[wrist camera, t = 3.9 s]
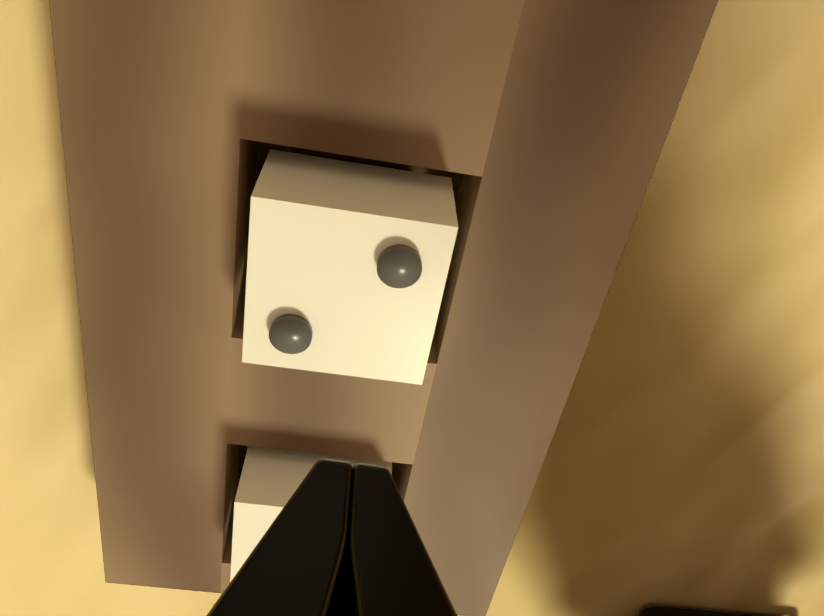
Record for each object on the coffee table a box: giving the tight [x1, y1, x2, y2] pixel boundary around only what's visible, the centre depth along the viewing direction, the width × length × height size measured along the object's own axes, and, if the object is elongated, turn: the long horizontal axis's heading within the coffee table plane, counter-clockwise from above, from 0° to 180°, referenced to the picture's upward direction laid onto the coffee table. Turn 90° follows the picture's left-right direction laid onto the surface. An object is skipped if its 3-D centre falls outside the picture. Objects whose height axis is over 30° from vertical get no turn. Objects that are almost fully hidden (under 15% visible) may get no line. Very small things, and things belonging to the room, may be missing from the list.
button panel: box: [49, 0, 718, 616], centre depth 17 cm, size 12×25×2 cm, turn 170°
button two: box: [242, 149, 458, 385], centre depth 16 cm, size 4×4×3 cm
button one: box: [230, 446, 392, 582], centre depth 20 cm, size 4×4×3 cm
